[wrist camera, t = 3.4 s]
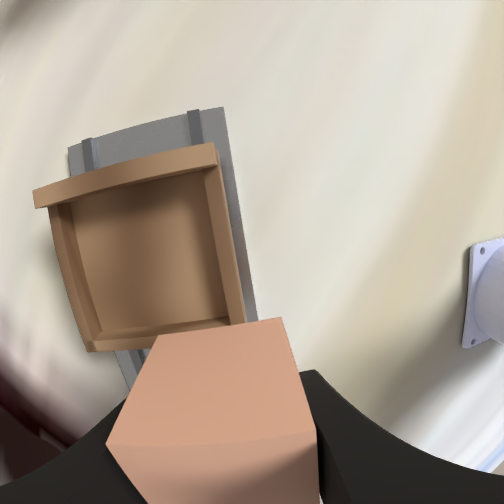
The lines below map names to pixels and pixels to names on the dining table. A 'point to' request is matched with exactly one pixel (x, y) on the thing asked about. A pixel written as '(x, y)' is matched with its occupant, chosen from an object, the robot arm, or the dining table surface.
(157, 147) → the rail
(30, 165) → the dining table surface
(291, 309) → the dining table surface
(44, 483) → the robot arm
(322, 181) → the dining table surface
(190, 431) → the block
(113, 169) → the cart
